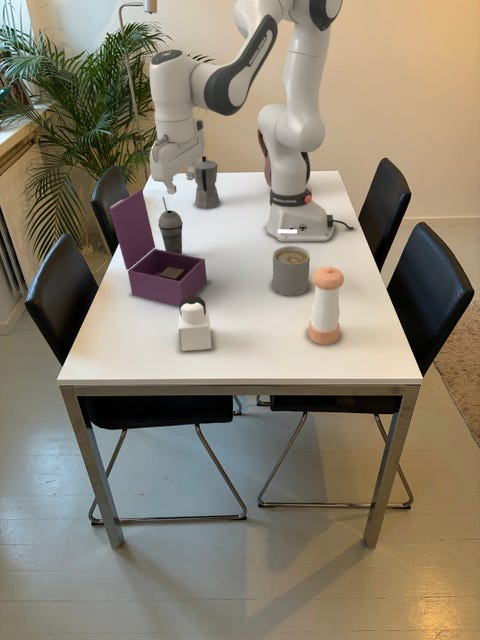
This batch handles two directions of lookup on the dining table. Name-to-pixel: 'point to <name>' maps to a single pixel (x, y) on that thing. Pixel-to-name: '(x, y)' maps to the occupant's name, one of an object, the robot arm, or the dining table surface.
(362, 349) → the dining table surface
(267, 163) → the ceramic pitcher
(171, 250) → the beverage cup
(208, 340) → the bust figurine
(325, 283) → the salt shaker
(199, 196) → the coffeepot
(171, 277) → the block
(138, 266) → the box
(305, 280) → the coffee mug
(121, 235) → the box file lid
